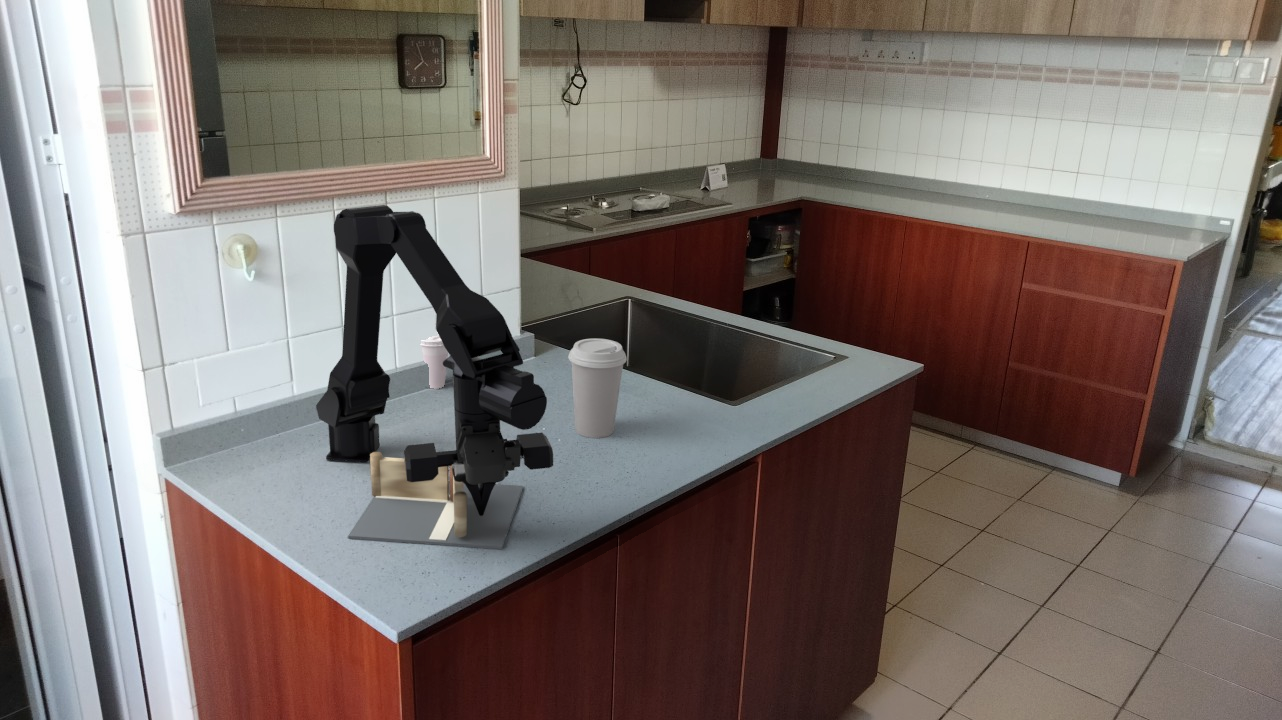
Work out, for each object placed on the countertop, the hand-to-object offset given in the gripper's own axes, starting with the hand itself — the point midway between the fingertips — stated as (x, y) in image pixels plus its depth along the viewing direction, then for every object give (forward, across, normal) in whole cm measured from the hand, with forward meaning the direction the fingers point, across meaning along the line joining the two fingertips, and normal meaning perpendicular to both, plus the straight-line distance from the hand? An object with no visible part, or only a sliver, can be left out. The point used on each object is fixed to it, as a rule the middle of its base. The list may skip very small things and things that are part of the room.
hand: (480, 514), depth 124 cm
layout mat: (+2, -5, +6) cm, 8 cm away
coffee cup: (+3, +23, +29) cm, 37 cm away
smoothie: (+2, -2, +53) cm, 53 cm away
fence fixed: (+1, -8, +10) cm, 13 cm away
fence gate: (+1, -3, +2) cm, 3 cm away
